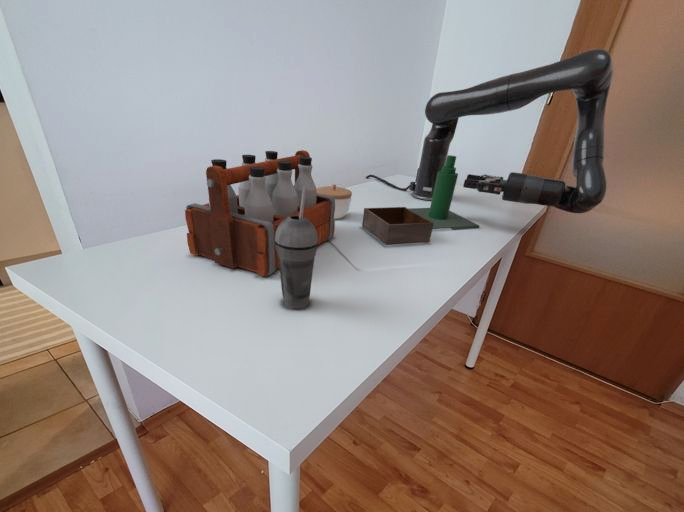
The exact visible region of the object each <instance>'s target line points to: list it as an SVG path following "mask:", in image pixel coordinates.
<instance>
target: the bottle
mask: <svg viewBox="0 0 684 512" xmlns="http://www.w3.org/2000/svg"><path fill="white" fill-rule="evenodd" d="M456 161H457V156H456V155H449V154H448V155H447V160H446V164H445V166H443V167H442V171H438V174H437V179H436V183H435V188H434V192H433V197H432V200H431V201H430V207H429V208H430V211H429V215H428V216H429V217H431V218H433V219H439V220H445V219H447V217H448V213H449V211H450V209H451V206H452V201H453V197H454V193H455V190H456V185H457V181H458V176H459V173H457V172H456V171H457V167H455V164H456Z"/></svg>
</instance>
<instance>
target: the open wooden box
mask: <svg viewBox="0 0 684 512" xmlns="http://www.w3.org/2000/svg"><path fill="white" fill-rule="evenodd" d="M433 224H434V223H432V222H431V221H429V220H427V219H425V218H424V217H422V216H420V215H418V214H417V213H415V212H413V211H411V210H410V208H409V207H406V206H392V207H389V206H388V207H364V208H363V215H362V223H361V227H362V228H363V229H365V230H366V231H367V232H369V233H370V234H371V235H373V236H374V237H375V238H376V239H377V240H379V241H380V242H381V243H382V244H384V245H385V246H394V245H405V244H407V245H408V244H421V243H430V240H431V237H432V232H433V229H432V228H433Z"/></svg>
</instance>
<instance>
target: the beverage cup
mask: <svg viewBox="0 0 684 512" xmlns="http://www.w3.org/2000/svg"><path fill="white" fill-rule="evenodd" d="M305 195H306V187H303V192H302V200H301V208H300V215H299V216H297V215H294V216H290V217H287V218H286V219H284V220H283V221H282V222H281V223H280V225H279V226H278V228H277V231H276V235H275V240H274V242H275V244H276V250H277V254H278V259H279V268H278V269H279V277H280V285H281V294H282V295H281V296H282V299H283V305H284V306H285V308H288V309H291V310H303V309H305V308H307V307H308V306H309V300H310V296H311V290H312V289H311V288H312V280H313V274H314V273H313V272H314V266H315V265H314V264H315V257H316V254H317V250H318V246H319V245H318V237H317V232H316V230H315V228H314V226H313V224H312V223H311V222H310V221H309V220H308V219H306V218H305V217H303V210H304V203H305Z"/></svg>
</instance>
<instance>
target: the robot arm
mask: <svg viewBox="0 0 684 512" xmlns="http://www.w3.org/2000/svg"><path fill="white" fill-rule="evenodd" d="M613 75H614V65H613V58H612V55H611V53H610V52H609V51H608V50H606V49H604V48H592V49H588V50H585V51H583V52H580V53H577V54H575V55H571V56H570V57H567V58H564V59H561V60H559V61H556V62H553V63H551V64H550V63H549V64H546V65H542V66H538V67H535V68H530V69H528V70H523V71H519V72H514V73H512V74H508V75H504V76H500V77H497V78H493V79H491V80H487V81H484V82H482V83H478V84H476V85H473V86H470V87H467V88H464V89H459V90H452V91H442V92H437V93H436V94H434V95H432V96H431V97H430V98H429V100H428V101H427V102H426V104H425V108H424V115H425V118H426V119H427V121H428V122H429V123H431V127H430V131H429V132H428V133H427V135H425V137H424V139H423V144H422V150H421V153H420V159H419V160H420V161H419V165H418V167H417V170H416V176H415V181H410V183H409V185H408V186H406V187H403V188H402V187H399V186H397V185H395V184H393V183H391V182H389V181H387V180H385V179H384V178H380V177H378V176H377V175H375V174H369V175H366V176H365V179H370V178H374V179H376V180H378V181H380V182H383V183H385V184H386V185H388V186H389V187H391V188H394V189H396V190H399V191H403V192H405V191H407V190H409V191H411V192H413V193H412V195H413V197H414V198H416V199H419V200H423V201H432V197H433V192H434V188H435V183H436V179H437V174H438V171H442V167H443V166H445V164H446V160H447V156H448V155H449V150H450V145H451V143H452V141H453V139H454V138H455V133H456V131H457V126H458V123H459V118H463V117H469V116H486V115H495V114H502V113H507V112H512V111H515V110H519V109H522V108H523V107H526V106H528V105H529V104H531V103H532V102H534V101H536V100H537V99H539V98H541V97H543V96H545V95H546V96H547V95H548V94H552V93H557V92H563V91H569V90H571V91H572V93H573V95H574V98H575V102H576V111H577V124H576V131H575V136H574V142H573V149H572V169H571V170H572V175H573V176H574V177H575V178H576V180H575V181H576V183H575V184H576V186H573V185H572V186H571V185H567V183H566V181H564V180H563V179H559V178H550V177H543V176H540V175H536V174H529V173H522V172H513V171H511V172H509V174H508V177H507V179H504V177H503V176H498V175H489V174H480V175H479V174H478V175H477V174H467V175H466V178H465V179H464V182H463V188H466V189H472V190H476V191H477V192H478V193H484V194H491V195H492V194H493V195H498V196H499V195H501V193H502V196H501V200H502V201H505V202H512V203H517V204H525V205H537V206H538V205H539V206H544V207H545V206H546V207H553V208H555V209H557V210H561V211H564V212H567V213H571V214H586V213H588V212H590V211H592V210H593V209H595V208H596V207H597V206H599V205H600V204H602V202H603V201H604V199H605V197H606V195H607V184H608V183H607V177H606V171H605V168H604V159H605V116H606V108H607V102H608V98H609V92H610V89H611V84H612V80H613Z"/></svg>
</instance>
